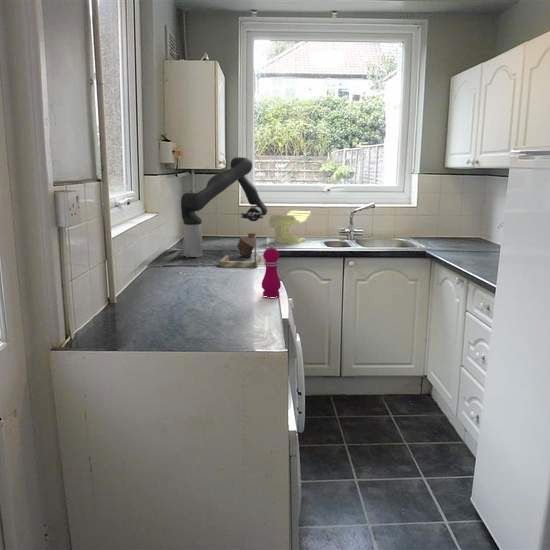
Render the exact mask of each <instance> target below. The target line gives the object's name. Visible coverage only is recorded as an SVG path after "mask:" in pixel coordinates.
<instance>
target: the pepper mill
mask: <svg viewBox="0 0 550 550" xmlns="http://www.w3.org/2000/svg"><path fill="white" fill-rule="evenodd" d="M274 247H275V245H274V244H272V243H270V244H269V246H268V248H267V249H265V250H264V251H263V255H262V257H263V259H264V260H265V261H264V266H265V273H264V276H263V278H262V281H261V289H263V291H262V297H263V296H267V297H276V296H279V297H280V288H281V287H282V286H281V285H282V284H281V280H280V278H279V274H278V270H277V269H278V266H279V264H278V263H279V261H278V259H280V252H279V250H278V249H276V248H274Z"/></svg>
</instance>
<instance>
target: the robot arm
mask: <svg viewBox="0 0 550 550" xmlns="http://www.w3.org/2000/svg"><path fill="white" fill-rule="evenodd" d="M252 170H253V161H252V159H249V158H247V157H242V156H241V157H239V156H237V157H233V158H232V159H231V161H230V168H229V169H226V170H223V171H220V172H218V173H216V174H215V175H213V176H212V177H211V178H210V179H208V181H207V184H206V187H205V188H203V189H202V190H200V191H198V192H185V193H184V194H182V195H181V199H180V211H181V218H182V221H183V236H184V237H183V239H182V245H183V246H182V247H183V257H184V256H186V257H185V258H189V257H196V258H202V257H203V229H202V228H203V225H202V223H203V221H202V218H201V217H200V216H199V215H198V214H197V213H196V212H198V211H201V210H203V209H204V208H205V207H206V206H207V205H208V203H210V202H211V201H212V200H213V199H214V198H215V197H217V196H218V195H219V194H221V193H222V192H223V191H225V190H226V189H227V188H228V187H230V186H232V185H233V184H234V183H235V182H237V181H238V183H239V185H240V186H241V188H242V190H243V192H244V194H245V197H246V199H247V202H248V203H249V205H251V207H249V209H248V210H247V211H246V212H241V213H240V218H242V219H246V220H247V219H248V220H249V221H251V222H257V221H258V220H259V219H263V218H264V216H266V215H267V213H268V207H267V205H265V203H264V202H263V201H262V199H261V198H260V196H259V193H258V190H257V188H256V186H255V185H254V184H253V183H252V182H251V181H250V179H249V178H248V177H247V175H248V174H249V173H250V172H252Z"/></svg>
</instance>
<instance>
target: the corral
mask: <svg viewBox="0 0 550 550" xmlns="http://www.w3.org/2000/svg"><path fill="white" fill-rule="evenodd" d="M247 237H248V238H252V239H254V248H253V250H254V254H253V255H254V261H239V260H238V261H237V260H236V261H231V260H230V255H227V254H225V256H223V258H221V260H219V268H247V267H253V269H256V268H258V267H257V266H259V265H260V263H261V262H262V255H258V256H257V232H254V233H252V232H251V233H247Z"/></svg>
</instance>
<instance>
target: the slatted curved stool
mask: <svg viewBox="0 0 550 550" xmlns="http://www.w3.org/2000/svg"><path fill="white" fill-rule="evenodd" d="M310 217H312V211H309V210H290V211H288V212H287V213H286V214H285V215H279V214H278V215H277V214H273V215H271V216H270V217H269V220H268V228H274V234H275V236H274V237H275V240H276V241H277V242H278V243H279V244H291V243H295V245H300V244H302V243H305V242H306V241H307V240H306V238H305V237H297V236H293V235H291V234H290V233H289V229H290V226H291V225H300V224H303V223H306V222H307V221H308V220H309V218H310Z"/></svg>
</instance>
